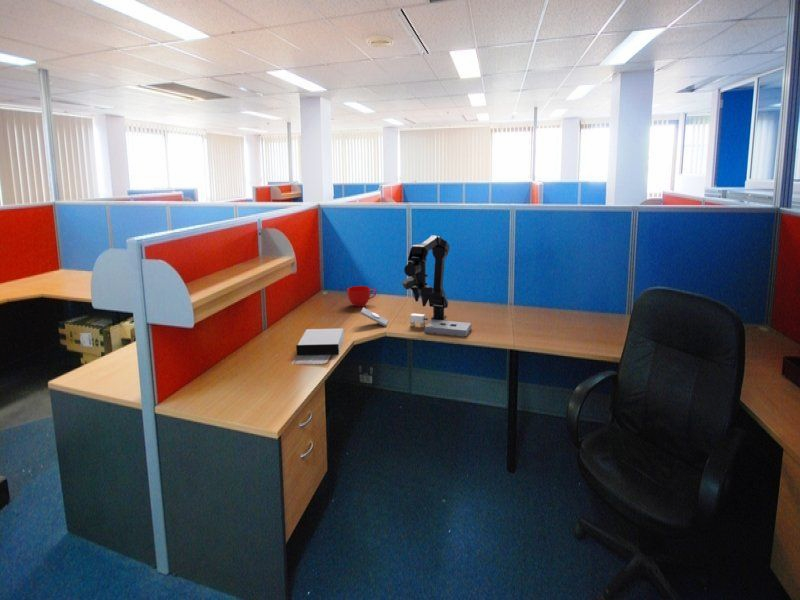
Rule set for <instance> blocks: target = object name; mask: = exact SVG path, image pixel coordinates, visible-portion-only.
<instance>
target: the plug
mask: <svg viewBox="0 0 800 600" xmlns="http://www.w3.org/2000/svg"><path fill="white" fill-rule="evenodd" d="M409 317H410V319H409V320H410V322H409V323H410V327H411V326H414V325H415V326H416V323H417V324H420V328H421V327H424V326H426V321H428V320H429V318H428V317H426V314H423V313H411V314H410V316H409ZM415 326H414V327H415ZM424 328H425V327H424Z"/></svg>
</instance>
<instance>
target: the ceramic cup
mask: <svg viewBox="0 0 800 600" xmlns="http://www.w3.org/2000/svg"><path fill="white" fill-rule="evenodd" d="M346 291H347V297H348V300H349V302H350V304H351V305H353V306H354V307H355V306H358V308H359V307H360V306H362V307H365V306H366V304H367V303H368V302H369V300H371V299H372V298H375V297H376V296H377V294H378V293H377V290H376V289H374V288H373V289H372V288H370V287H369V286H364V285H355V286H350V287H348V288H347V290H346ZM372 291H373V292H374V291H375V293H374V294H373V295H372V296H370V295H371V293H372ZM364 305H365V306H364ZM360 308H361V307H360Z"/></svg>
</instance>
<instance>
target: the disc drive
mask: <svg viewBox="0 0 800 600" xmlns="http://www.w3.org/2000/svg"><path fill="white" fill-rule="evenodd" d="M344 338H345V332H344V328H310V329H309V328H308V329H305V331H304V333H303V334H302V336H301V338H300V340H299V342H298V343H297V344H296V345H295V346H296V347H295V348H296V356H336V355H337V356H338V355H340V351H341V348H342V344H343V342H344Z"/></svg>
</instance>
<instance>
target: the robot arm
mask: <svg viewBox="0 0 800 600" xmlns="http://www.w3.org/2000/svg"><path fill="white" fill-rule="evenodd" d="M429 251H432V256H433V258H434V271H433V272H434V273H433V285H432V286H433V287H432V286H430V285H428V282H427V277H428V274H427V270H426V267H427V264H426V263H427V262H426V261H428V258H427V257H428V256H429ZM449 252H450V245H449V243H448V241H447V240H445V239H443V238H442V237H441V236H440V235H430V236H429V238H427V239H425V240H424V241H422V242H421V243H417V244H416V243H415V244H413V245H412V246H411V247H410V250H409V254H408V258H407V264H406V265H405V266H404V268H403V269H404V270H403V271H404V274H405V275H406V276H407V277H409V278H406V279H403V280H402V281H401V284H402V286H403V289H405V290H406V291H407V290H411V291H412V294H413V298H414V300H415V302H419V298H421V304H422V307H426V305H427V303H428V305H429V307H431V308H432V310H433V311H432V312H433V314H432V315H433V316H431V320H443V321H444V320H445V318H447V315H445V309H446V308H448V307H449V301H448V299H447V297H446V291H445V290H444V273H445V260H446V258H447V257H448V255H449Z"/></svg>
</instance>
